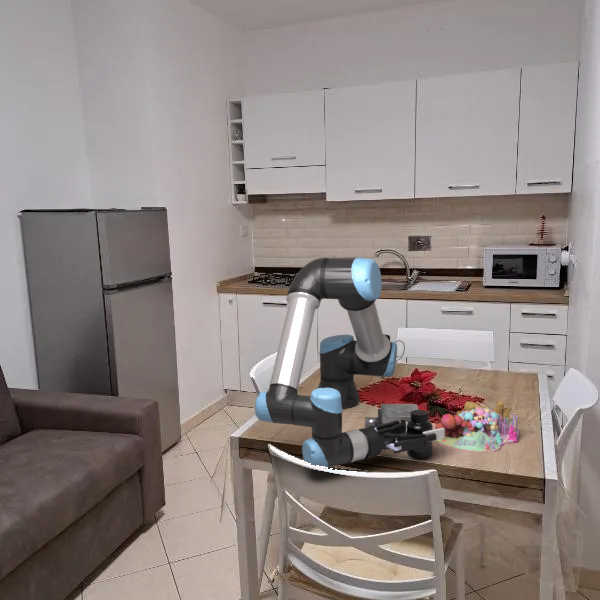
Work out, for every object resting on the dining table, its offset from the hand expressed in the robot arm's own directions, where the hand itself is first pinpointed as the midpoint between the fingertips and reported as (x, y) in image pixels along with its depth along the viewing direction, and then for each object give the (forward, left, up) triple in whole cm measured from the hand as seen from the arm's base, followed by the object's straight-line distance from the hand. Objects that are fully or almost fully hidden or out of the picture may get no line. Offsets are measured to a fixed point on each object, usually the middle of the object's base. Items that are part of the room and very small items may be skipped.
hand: (434, 428), depth 151 cm
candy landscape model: (+13, +12, -7) cm, 19 cm away
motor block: (-10, +16, -7) cm, 20 cm away
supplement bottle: (-4, -2, -7) cm, 8 cm away
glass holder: (-9, +77, -7) cm, 77 cm away
